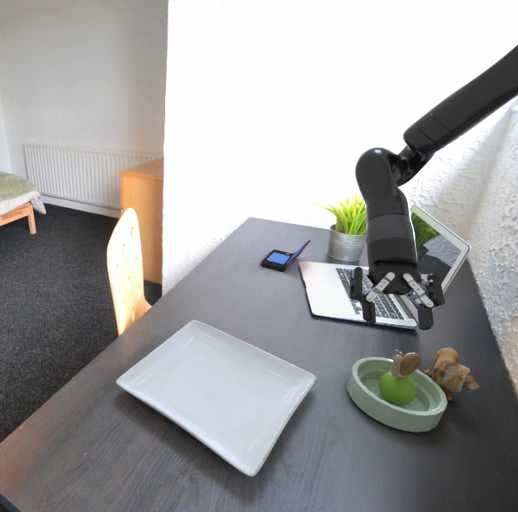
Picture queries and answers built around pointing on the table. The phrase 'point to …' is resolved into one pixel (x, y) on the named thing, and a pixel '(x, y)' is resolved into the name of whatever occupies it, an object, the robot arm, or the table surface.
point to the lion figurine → (450, 373)
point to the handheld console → (281, 258)
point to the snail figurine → (400, 379)
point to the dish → (395, 415)
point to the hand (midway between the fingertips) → (398, 326)
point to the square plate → (220, 392)
